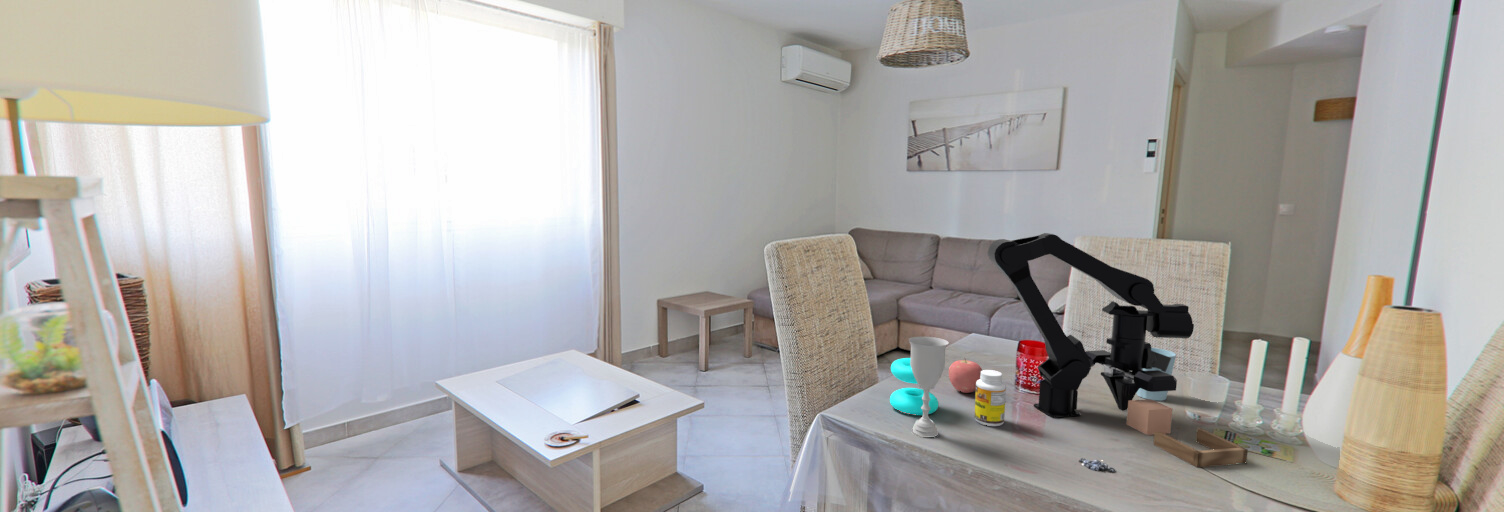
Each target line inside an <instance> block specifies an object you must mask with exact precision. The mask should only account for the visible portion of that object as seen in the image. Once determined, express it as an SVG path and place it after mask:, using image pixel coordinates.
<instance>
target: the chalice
mask: <svg viewBox="0 0 1504 512" xmlns="http://www.w3.org/2000/svg"><path fill="white" fill-rule="evenodd" d="M908 342H909V344H910V358H911V360H910V365H911V368H912V371H913V374H914V377H915V379H916V381H917V383H918V384H917V385H918V387H919V388H920V389H923V390H924V394H923V397H922V400H923V406H922V407H921V409H922V410H923V415H921V416H922V417H920V418H918V419H917V420H915V422H914V425H913V427H912V429H913V432H914V433H916V434H918V435H920V436H935V435H937V434H938V433H939V431H938V428H937V427H936V423H935V421H933V420H932V419H931V418H930V417H929V414H928V413H929V410H930V409H931V408H930V407H929V401H930V400H931V399H930V397H929V392H930V390H932V389H935V387H936V386H937V384H938V382H939V381H940V379H941V377H942V375H943V373H944V370H945V366H946V349H947V346H948V345H949V341H948V340H946V339H943V338H939V337H934V336H913V337H909V338H908Z"/></svg>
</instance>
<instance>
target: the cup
mask: <svg viewBox="0 0 1504 512" xmlns="http://www.w3.org/2000/svg"><path fill="white" fill-rule="evenodd" d="M1151 351H1154V352H1157V353H1159V354H1162V355H1165V356H1168V357H1170V358H1171V360H1170V363H1169V365H1168V368H1167V370H1166V372H1164V371H1162V372H1164V373H1167V374H1170V375H1173V370H1174V366H1175V362H1176V358H1177V354H1176V353H1175V352H1174V351H1171V350H1168V349H1167V350H1166V349H1164V348H1158V347H1151ZM1142 370H1143V371H1154V370H1159V371H1161V369H1158V368H1156V367H1155V368H1153V367H1152V369H1145V368H1143V369H1142ZM1168 392H1169V391H1159V392H1150V391H1146V390H1144V389H1141V388H1140V389H1139V390H1138V391H1137V393H1136V395H1137V396H1138V397H1140V398H1142V399H1144V400H1146V399H1152V400H1154V401H1156V402H1158V401H1162V402H1163V401H1165V400H1167V397H1168Z"/></svg>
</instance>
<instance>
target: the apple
mask: <svg viewBox="0 0 1504 512" xmlns="http://www.w3.org/2000/svg"><path fill="white" fill-rule="evenodd" d="M963 358H964V359H959V360H955V361H954V362H952V364H950V366H949V368H948V377H949V382H950V384H951V385H952V386H953V387H954V389H956V390H957V391H958V392H960V391H961V392H960V393H965V394H969V393H973V392H976V382H977V380H979V379H980V376H981V371H982V370H983V369H982V367H981V365H979V364H978V363H977V362H975V361H972V360H967V359H966V358H965V357H963Z"/></svg>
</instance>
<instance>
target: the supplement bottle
mask: <svg viewBox="0 0 1504 512" xmlns="http://www.w3.org/2000/svg"><path fill="white" fill-rule="evenodd" d="M1006 392H1007V386H1006V383H1005V382H1003V373H1002V372H1000V371H997V370H994V369H993V370H992V369H982V371H981V376H980V379H979V380H977V382H976V390H975V395H974V396H975V397H974V420H975V421H976V422H977V423H978V424H980V425H983V426H986V425H987V427H999V426H1002V425H1003V424H1004V423H1005V413H1006V412H1005V411H1006Z"/></svg>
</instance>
